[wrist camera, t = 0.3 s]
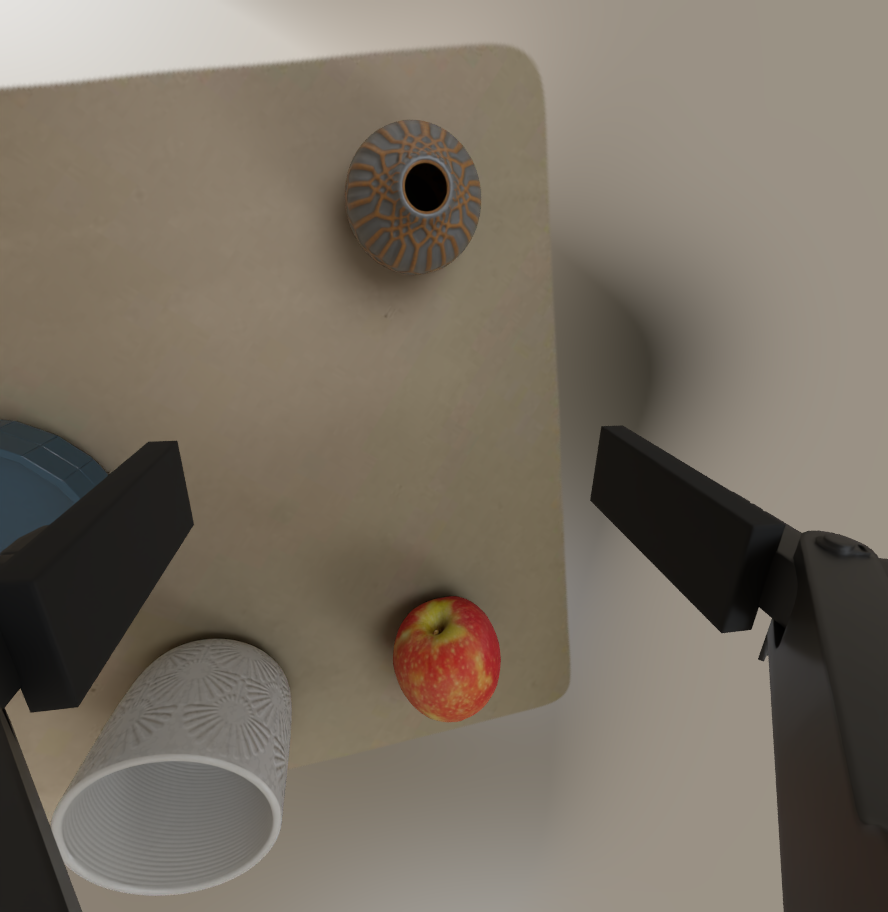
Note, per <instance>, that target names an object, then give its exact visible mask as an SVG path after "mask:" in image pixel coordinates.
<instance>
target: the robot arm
mask: <svg viewBox="0 0 888 912" xmlns="http://www.w3.org/2000/svg"><path fill="white" fill-rule="evenodd" d="M590 501H591V502H593V504H594V505H595V506H596V507H597V508H598V509H599V510H600V511H601V512H602V513H603V514H604V515H605V516H606V517H607V518H608V519H609V520H610V521H611V522H612V523H613V524H614V525H615V526H616V527H617V528H618V529H619V530H620V531H621V532H622V533H623V534H624V535H625V536H626V537H627V538H628V539H629V540H630V541H631V542H632V543H633V544H634V545H635V546H636V547H637V548H638V549H639V550H640V551H641V552H642V553H643V554H644V555H645V556H646V557H647V558H648V559H649V560H650V561H651V562H652V563H653V564H654V565H655V566H656V567H657V568H658V569H659V570H660V571H661V572H662V573H663V574H664V575H665V576H666V577H667V578H668V580H669V581H671V582H672V584H673V585H674V586H675V587H676V588H677V589H678V590H679V591H680V592H681V593H682V594H683V595H684V596H685V597H686V598H687V599H688V600H689V601H690V602H691V603H692V604H693V605H694V606H695V607H696V608H697V609H698V610H699V611H700V612H701V613H702V614H703V615H704V616H705V617H706V618H707V619H708V620H709V621H710V622H711V623H712V624H713V625H714V626H715V627H716V628H717V629H718V630H719V631H720V632H721V633H728V632H736V631H745V630H751V629H752V626H753V623H754V620H755V617H756V614H757V611H758V608H759V607H760V608H761V609H762V610H763V611H764V612H766V613H767V614H768V615H769V616H770V617H771V618H772V620H771V623H770V626H769V629H768V632H767V635H766V638H765V641H764V644H763V646H762V649H761V652H760V655H759V658H758V659H759V660H761V661H764V660H765V657H766V656H769V672H770V687H771V688H770V689H771V706H772V723H773V739H774V754H775V772H776V789H777V806H778V823H779V840H780V855H781V873H782V890H783V905H784V912H888V559H881V558H878V556H877V555H876V554H875V553H874V551H873V550H872V549H870V548H868V546H866V545H864V544H862V543H860V542H858V541H855V540H853V539H851V538H848V537H845V536H842V535H840V534H835V533H830V532H824V531H807V532H804V533H801V532H799V531H798V530H796V529H794V528H792V527H791V526H789V525H788V524H786V523H784V522H783V521H781V520H779V519H778V518H776V517H774V516H773V515H771V514H769V513H768V512H765V511H763V510H762V509H761V508H759V507H758V506H756V505H755V504H751V503H750V501H748V500H746V499H745V498H743V497H741V496H740V495H738V494H736V493H734V492H732V491H730V490H728V489H726V488H725V487H723V486H722V485H720V484H718V483H717V482H715V481H713V480H711V479H710V478H708V477H707V476H705V475H703V474H702V473H700V472H698V471H697V470H695V469H694V468H692V467H690V466H688V465H687V464H685V463H684V462H682V461H680V460H678V459H677V458H675V457H674V456H672V455H670V454H669V453H667V452H665V451H664V450H662V449H661V448H659V447H657V446H655V445H654V444H652V443H651V442H649V441H647V440H646V439H644V438H642V437H641V436H639V435H637V434H636V433H634V432H632V431H631V430H629V429H627V428H626V427H624V426H602V427H601V433H600V440H599V446H598V453H597V460H596V466H595V473H594V479H593V486H592V492H591V500H590ZM193 525H194V523H193V518H192V512H191V507H190V502H189V497H188V492H187V487H186V482H185V477H184V472H183V467H182V462H181V457H180V452H179V447H178V442H177V441H158V442H148V443H146V444H145V445H144V446H143V447H142V448H140V449H139V450H138V451H137V452H136V453H135V454H133V455H132V456H131V457H130V458H129V459H127V460H126V461H125V462H124V463H123V464H121V465H120V466H119V467H118V468H117V469H115V470H114V471H113V472H112V473H111V474H110V475H108V476H107V477H106V478H105V479H104V480H102V481H101V482H100V483H99V484H98V485H96V486H95V487H94V488H93V489H92V490H91V491H89V492H88V493H87V494H86V495H85V496H83V497H82V498H81V499H80V500H79V501H77V502H76V503H75V504H74V505H73V506H71V507H70V508H69V509H68V510H67V511H66V512H64V513H63V514H62V515H61V516H60V517H58V518H57V519H56V520H55V521H54V522H52V523H51V524H50V525H44V526H42V527H40V528H38V529H36V530H34V531H32V532H30V533H28V534H26V535H24V536H22V537H20V538H18V539H17V540H16V541H14V542H13V543H12V544H11V545H9V546H8V547H7V548H6V549H4V550H3V551H2V552H1V555H0V912H82V910H81V907H80V905H79V902H78V899H77V896H76V894H75V891H74V888H73V886H72V883H71V881H70V878H69V875H68V873H67V870H66V867H65V865H64V862H63V859H62V857H61V854H60V851H59V849H58V846H57V843H56V841H55V838H54V835H53V833H52V830H51V827H50V825H49V822H48V819H47V817H46V814H45V811H44V809H43V806H42V804H41V801H40V798H39V796H38V793H37V790H36V788H35V785H34V782H33V780H32V777H31V774H30V772H29V769H28V766H27V764H26V761H25V758H24V756H23V753H22V750H21V748H20V745H19V742H18V740H17V737H16V735H15V732H14V729H13V727H12V724H11V721H10V719H9V717H8V714H7V712H6V710H5V706H6V705H7V704H8V703H9V701H10V700H11V699H12V698H13V696H14V695H15V694H16V693H17V691H18V690H19V689H20V688H21V690H22V693H23V695H24V698H25V700H26V703H27V705H28V707H29V710H30V712H40V711H48V710H57V709H66V708H75V707H78V706H79V705H80V703H81V702H82V700H83V699H84V697H85V695H86V694H87V692H88V691H89V689H90V688H91V686H92V684H93V683H94V681H95V680H96V678H97V677H98V675H99V673H100V672H101V670H102V669H103V667H104V665H105V664H106V662H107V661H108V659H109V658H110V656H111V654H112V653H113V651H114V650H115V648H116V647H117V645H118V643H119V642H120V640H121V639H122V637H123V636H124V634H125V632H126V631H127V629H128V628H129V626H130V624H131V623H132V621H133V620H134V618H135V617H136V615H137V613H138V612H139V610H140V609H141V607H142V606H143V604H144V602H145V601H146V599H147V598H148V596H149V595H150V593H151V591H152V590H153V588H154V587H155V585H156V583H157V582H158V580H159V579H160V577H161V576H162V574H163V572H164V571H165V569H166V568H167V566H168V565H169V563H170V561H171V560H172V558H173V557H174V555H175V554H176V552H177V550H178V549H179V547H180V546H181V544H182V542H183V541H184V539H185V538H186V536H187V535H188V533H189V531H190V530H191V528H192V527H193Z"/></svg>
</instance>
